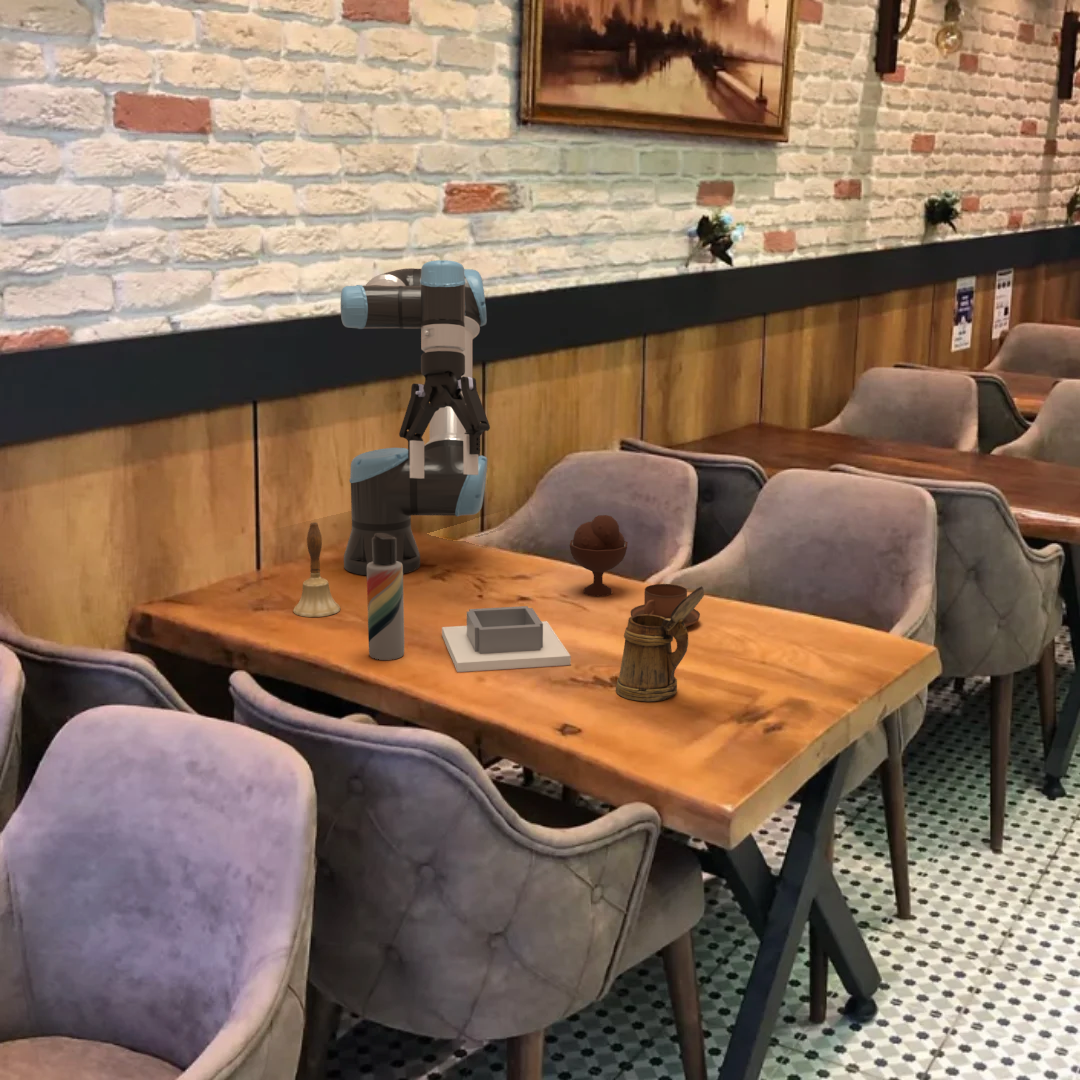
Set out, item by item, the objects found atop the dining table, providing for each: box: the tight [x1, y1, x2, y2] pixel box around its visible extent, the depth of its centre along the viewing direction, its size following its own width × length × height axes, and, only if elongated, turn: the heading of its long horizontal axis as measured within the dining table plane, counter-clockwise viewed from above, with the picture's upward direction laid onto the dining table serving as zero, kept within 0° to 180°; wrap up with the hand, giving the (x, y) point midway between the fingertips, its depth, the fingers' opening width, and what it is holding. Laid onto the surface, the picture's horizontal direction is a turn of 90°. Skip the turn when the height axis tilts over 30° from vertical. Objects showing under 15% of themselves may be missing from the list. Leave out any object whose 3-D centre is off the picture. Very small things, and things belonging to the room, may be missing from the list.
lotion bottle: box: [366, 533, 405, 661], centre depth 209 cm, size 6×6×20 cm
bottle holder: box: [441, 605, 572, 673], centre depth 214 cm, size 18×18×6 cm
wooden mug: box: [614, 586, 705, 703], centre depth 193 cm, size 9×14×18 cm, turn 52°
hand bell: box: [293, 522, 341, 618], centre depth 232 cm, size 8×8×16 cm
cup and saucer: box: [630, 583, 701, 628], centre depth 228 cm, size 12×12×6 cm
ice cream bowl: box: [569, 514, 629, 597], centre depth 245 cm, size 11×11×15 cm
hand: (443, 476), depth 225 cm, fingers open, 13 cm apart
